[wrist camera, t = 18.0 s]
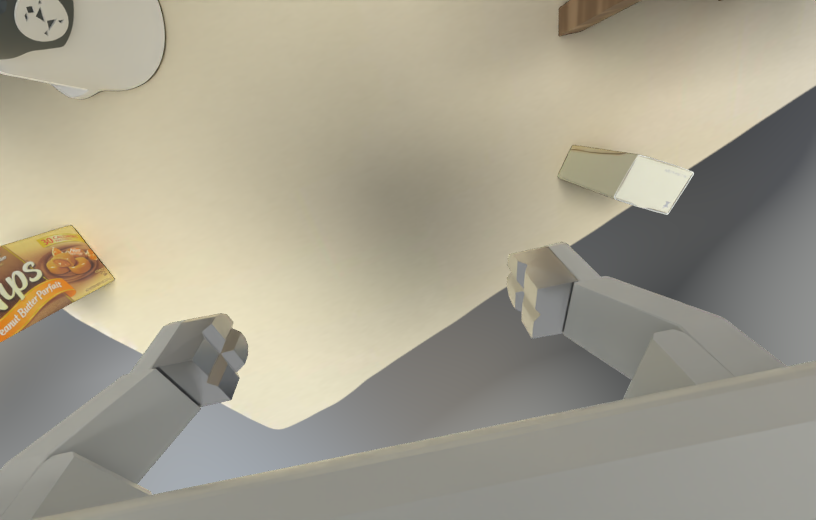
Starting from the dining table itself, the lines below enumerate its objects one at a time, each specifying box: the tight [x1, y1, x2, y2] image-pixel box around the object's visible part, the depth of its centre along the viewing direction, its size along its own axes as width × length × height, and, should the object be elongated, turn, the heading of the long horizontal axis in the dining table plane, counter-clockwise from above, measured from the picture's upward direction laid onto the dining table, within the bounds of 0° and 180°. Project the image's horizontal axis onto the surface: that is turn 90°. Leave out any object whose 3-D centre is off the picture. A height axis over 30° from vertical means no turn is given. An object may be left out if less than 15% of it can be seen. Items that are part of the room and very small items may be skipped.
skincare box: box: [558, 145, 694, 215], centre depth 34 cm, size 6×4×12 cm
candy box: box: [0, 226, 114, 342], centre depth 36 cm, size 9×4×15 cm, turn 18°
